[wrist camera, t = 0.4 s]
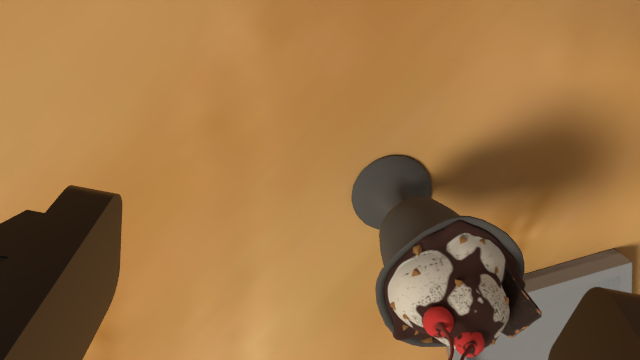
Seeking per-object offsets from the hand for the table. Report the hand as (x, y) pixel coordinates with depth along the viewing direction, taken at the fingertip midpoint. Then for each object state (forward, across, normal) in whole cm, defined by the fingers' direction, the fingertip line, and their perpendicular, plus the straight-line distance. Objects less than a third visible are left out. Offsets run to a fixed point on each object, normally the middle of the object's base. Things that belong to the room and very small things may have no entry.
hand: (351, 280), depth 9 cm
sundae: (+21, -6, +10) cm, 24 cm away
